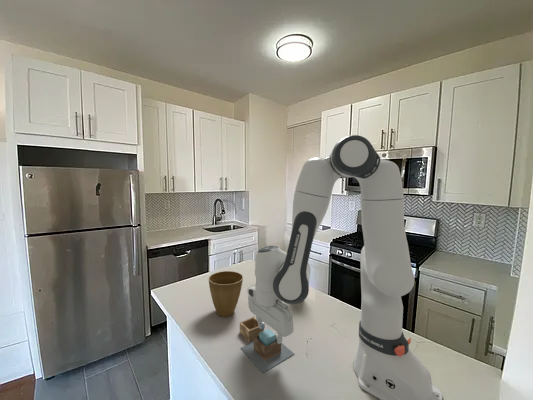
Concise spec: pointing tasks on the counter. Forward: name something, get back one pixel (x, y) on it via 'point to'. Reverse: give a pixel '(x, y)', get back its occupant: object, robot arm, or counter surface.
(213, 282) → the plant pot
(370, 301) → the robot arm
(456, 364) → the counter surface
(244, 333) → the light wooden open box
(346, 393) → the counter surface
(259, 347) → the brown wooden square tray
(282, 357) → the slate mat
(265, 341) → the light blue block
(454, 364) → the counter surface
